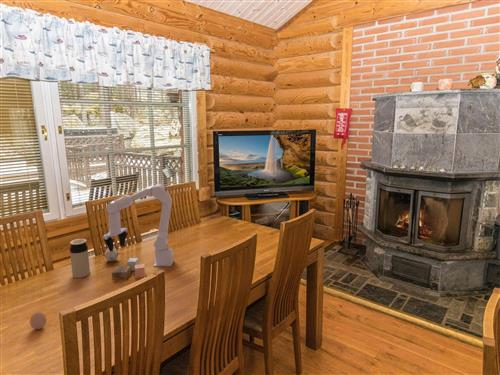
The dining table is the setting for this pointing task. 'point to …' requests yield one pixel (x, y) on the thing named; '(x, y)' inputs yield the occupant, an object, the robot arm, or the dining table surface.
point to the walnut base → (121, 272)
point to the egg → (38, 320)
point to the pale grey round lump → (111, 254)
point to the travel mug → (79, 258)
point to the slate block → (133, 263)
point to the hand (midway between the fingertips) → (116, 248)
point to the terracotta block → (140, 270)
